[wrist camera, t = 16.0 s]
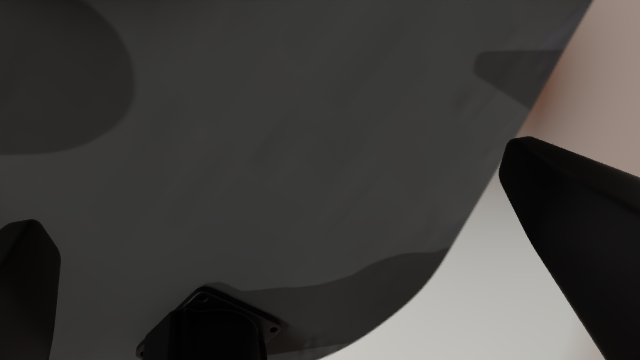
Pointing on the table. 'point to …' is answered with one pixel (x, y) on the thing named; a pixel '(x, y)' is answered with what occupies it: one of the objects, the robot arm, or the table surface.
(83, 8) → the table surface
